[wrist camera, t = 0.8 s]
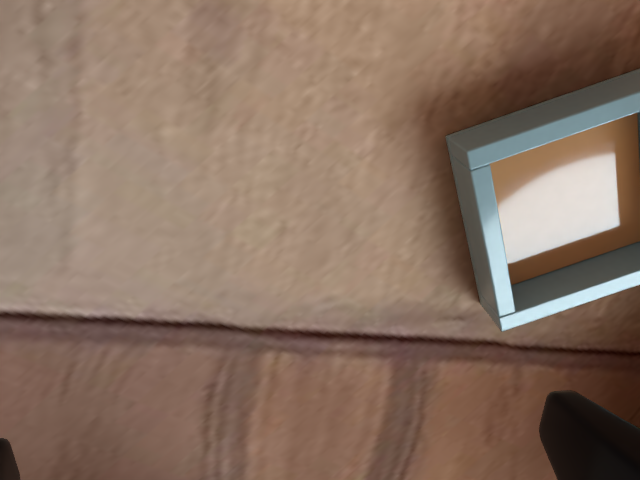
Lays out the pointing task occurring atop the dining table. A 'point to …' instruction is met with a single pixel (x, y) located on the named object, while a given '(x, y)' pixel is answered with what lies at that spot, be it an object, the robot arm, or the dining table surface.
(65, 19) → the dining table surface
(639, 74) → the holder
